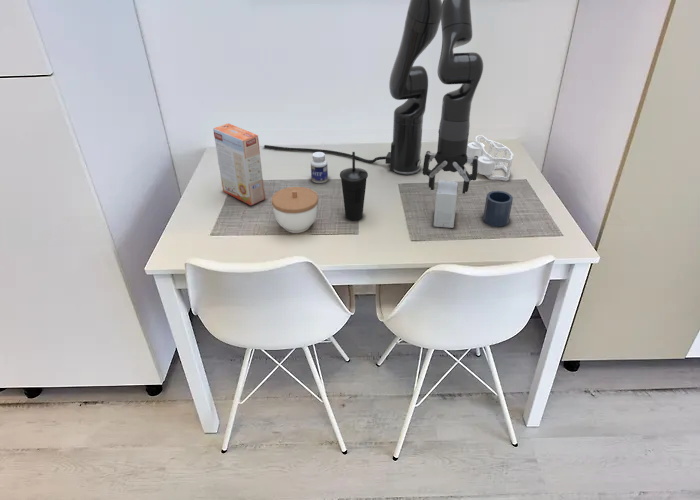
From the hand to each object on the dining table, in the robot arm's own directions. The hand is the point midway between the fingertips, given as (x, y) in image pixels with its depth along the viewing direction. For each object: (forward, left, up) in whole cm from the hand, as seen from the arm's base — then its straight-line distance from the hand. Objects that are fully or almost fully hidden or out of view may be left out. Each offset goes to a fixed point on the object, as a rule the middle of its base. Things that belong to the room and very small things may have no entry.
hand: (447, 190), depth 145 cm
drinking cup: (-25, -5, -10) cm, 27 cm away
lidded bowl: (-39, -14, -10) cm, 43 cm away
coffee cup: (+14, +4, -10) cm, 17 cm away
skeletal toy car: (+9, +37, -10) cm, 39 cm away
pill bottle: (-42, +14, -10) cm, 46 cm away
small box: (0, 0, -10) cm, 10 cm away
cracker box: (-61, -2, -10) cm, 62 cm away
